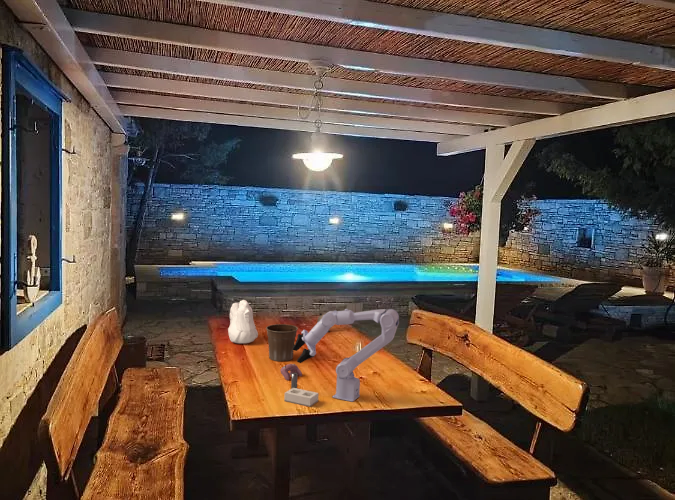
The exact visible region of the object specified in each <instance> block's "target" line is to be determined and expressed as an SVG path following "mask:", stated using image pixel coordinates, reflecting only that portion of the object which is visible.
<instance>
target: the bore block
mask: <svg viewBox="0 0 675 500" xmlns="http://www.w3.org/2000/svg"><path fill="white" fill-rule="evenodd" d="M283 401H284V402H286V403H291V404H296V405H300V406H304V407H309V408H311V407H312V406H314V405H315V404H317V403H318V402H319V392H315V391H310V390H305V389H303V388H302V389H301V388H298V387H297V388H292V389H291V388H290V389H288V390H287V391H285V392H284V399H283Z"/></svg>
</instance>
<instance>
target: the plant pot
mask: <svg viewBox="0 0 675 500" xmlns="http://www.w3.org/2000/svg"><path fill="white" fill-rule="evenodd" d="M298 329H299V327H298V326H296V325H292V324H286V323H282V324H281V323H276V324H275V323H274V324H270V325H267V326H266V327H265V330H266V333H267V342H268V357H269V359H270V360H271V361H274V362H284V361H285V362H289V361H291V360H293V358H294V351H295V350H293V347H294V345H295V343H296V337H297V333H298V332H297V331H298Z"/></svg>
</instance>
